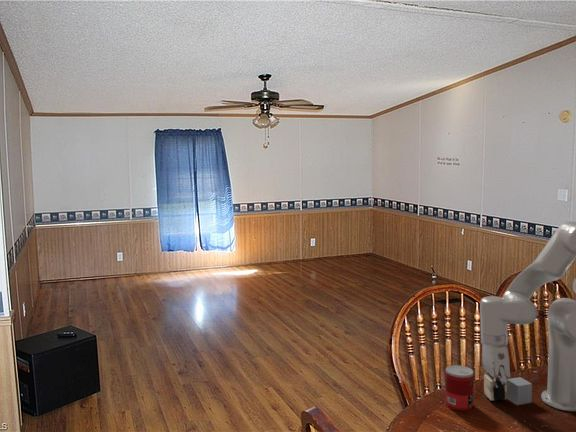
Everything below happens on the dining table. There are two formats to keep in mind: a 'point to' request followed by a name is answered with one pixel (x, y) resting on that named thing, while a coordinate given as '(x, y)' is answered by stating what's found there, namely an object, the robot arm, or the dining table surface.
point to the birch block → (491, 386)
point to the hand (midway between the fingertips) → (495, 394)
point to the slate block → (519, 391)
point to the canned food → (459, 387)
